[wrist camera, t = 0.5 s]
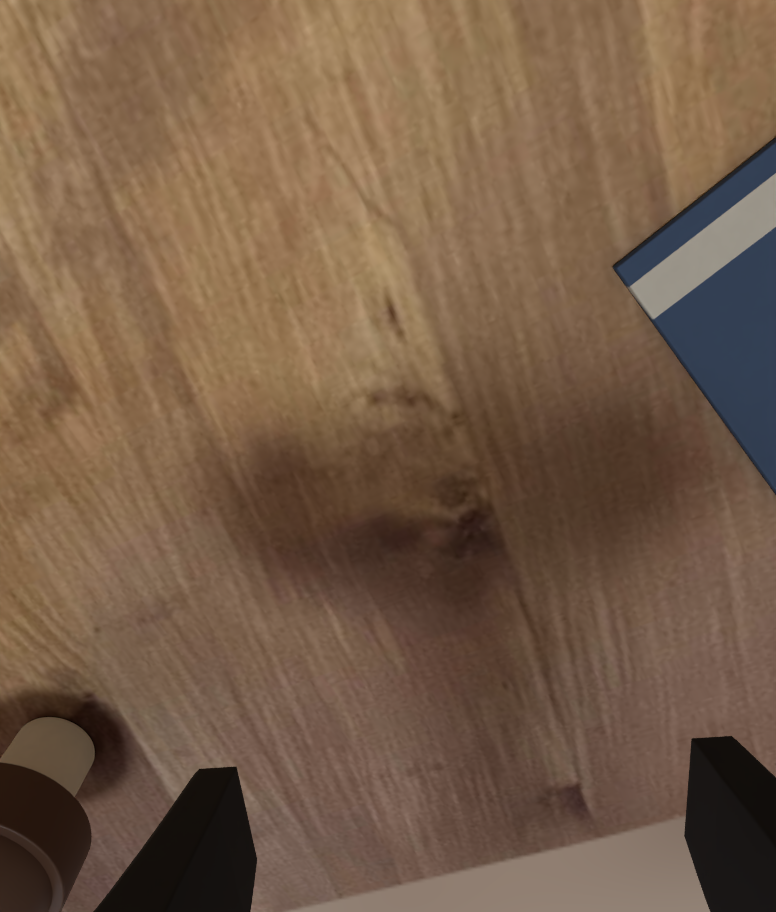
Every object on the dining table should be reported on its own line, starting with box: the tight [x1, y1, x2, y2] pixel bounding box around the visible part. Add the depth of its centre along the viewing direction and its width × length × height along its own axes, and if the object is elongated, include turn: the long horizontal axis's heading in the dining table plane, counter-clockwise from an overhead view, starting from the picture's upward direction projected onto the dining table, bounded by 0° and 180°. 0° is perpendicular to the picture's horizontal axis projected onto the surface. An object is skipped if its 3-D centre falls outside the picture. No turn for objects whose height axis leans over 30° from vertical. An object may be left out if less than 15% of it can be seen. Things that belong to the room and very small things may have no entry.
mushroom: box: [0, 717, 95, 912], centre depth 22 cm, size 5×5×7 cm
